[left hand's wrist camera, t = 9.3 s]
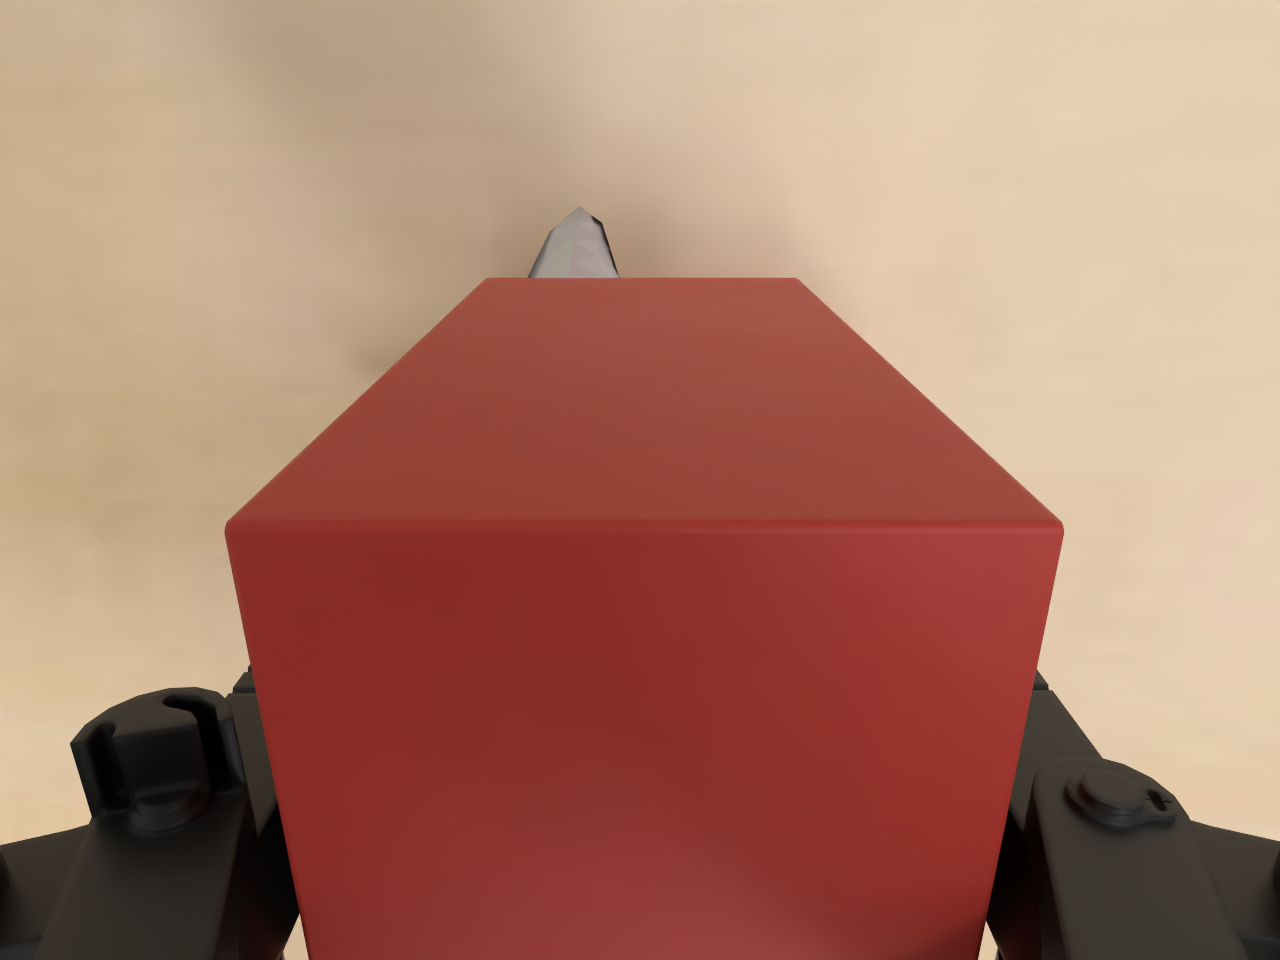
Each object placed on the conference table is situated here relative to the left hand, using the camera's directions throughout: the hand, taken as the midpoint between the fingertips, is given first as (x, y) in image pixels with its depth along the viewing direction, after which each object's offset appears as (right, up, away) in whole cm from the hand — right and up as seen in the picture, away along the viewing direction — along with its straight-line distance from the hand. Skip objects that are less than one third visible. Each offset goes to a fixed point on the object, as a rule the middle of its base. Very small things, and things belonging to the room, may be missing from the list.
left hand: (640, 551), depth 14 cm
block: (0, +1, +2) cm, 2 cm away
